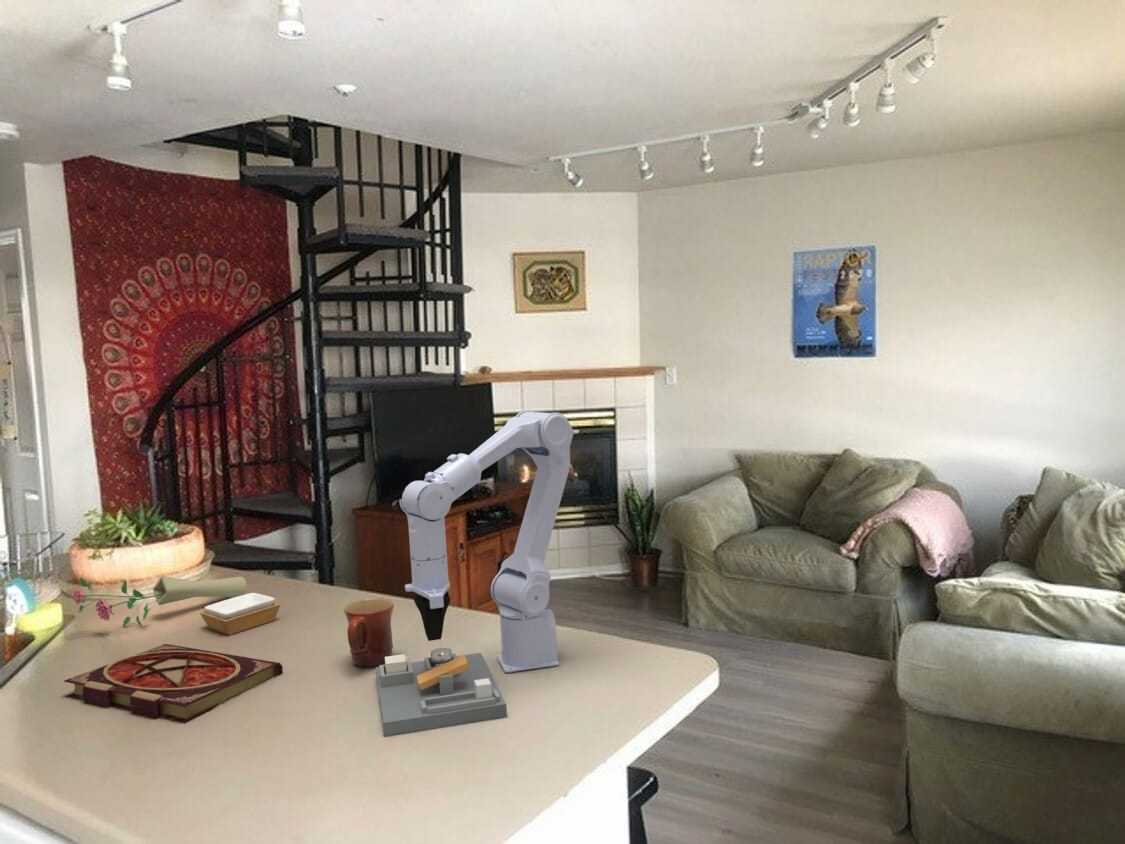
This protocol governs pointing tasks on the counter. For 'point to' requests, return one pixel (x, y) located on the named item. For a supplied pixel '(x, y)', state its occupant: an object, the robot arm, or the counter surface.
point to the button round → (441, 656)
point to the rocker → (442, 671)
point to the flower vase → (168, 593)
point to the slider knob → (482, 689)
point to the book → (171, 682)
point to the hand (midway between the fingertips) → (434, 638)
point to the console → (436, 697)
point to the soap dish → (240, 613)
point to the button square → (395, 664)
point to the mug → (370, 631)
